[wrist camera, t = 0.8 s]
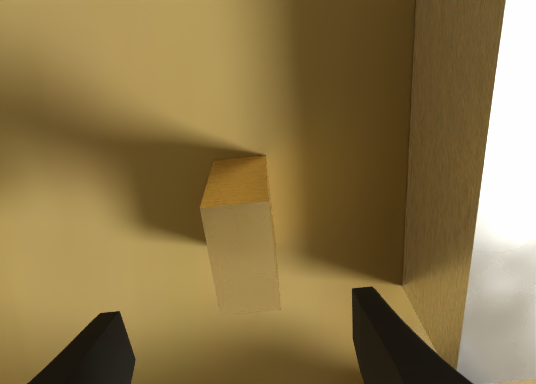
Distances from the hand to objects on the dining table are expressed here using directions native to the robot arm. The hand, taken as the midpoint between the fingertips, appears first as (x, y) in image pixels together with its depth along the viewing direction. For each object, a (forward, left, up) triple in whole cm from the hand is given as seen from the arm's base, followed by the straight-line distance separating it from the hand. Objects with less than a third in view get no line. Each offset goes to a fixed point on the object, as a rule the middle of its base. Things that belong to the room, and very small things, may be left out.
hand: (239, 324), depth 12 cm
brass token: (0, 0, -8) cm, 8 cm away
